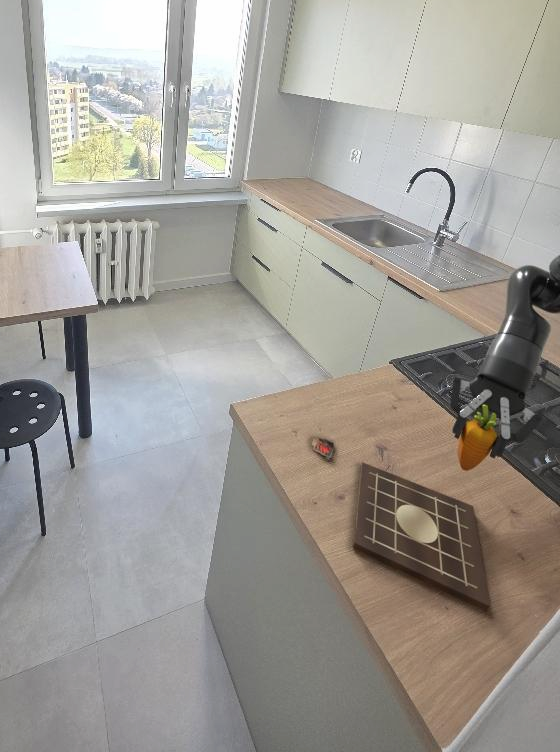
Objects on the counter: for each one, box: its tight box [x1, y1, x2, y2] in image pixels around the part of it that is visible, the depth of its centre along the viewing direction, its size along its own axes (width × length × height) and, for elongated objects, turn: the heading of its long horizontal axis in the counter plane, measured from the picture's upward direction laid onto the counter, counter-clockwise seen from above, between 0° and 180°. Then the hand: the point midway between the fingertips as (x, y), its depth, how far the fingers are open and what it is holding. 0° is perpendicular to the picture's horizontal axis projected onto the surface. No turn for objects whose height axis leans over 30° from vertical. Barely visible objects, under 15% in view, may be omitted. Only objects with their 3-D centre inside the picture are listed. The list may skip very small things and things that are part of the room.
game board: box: [352, 461, 491, 612], centre depth 77 cm, size 20×18×2 cm
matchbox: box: [311, 437, 335, 461], centre depth 92 cm, size 5×5×1 cm
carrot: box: [457, 405, 499, 472], centre depth 76 cm, size 5×5×15 cm
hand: (474, 446), depth 75 cm, fingers closed on carrot, 5 cm apart
